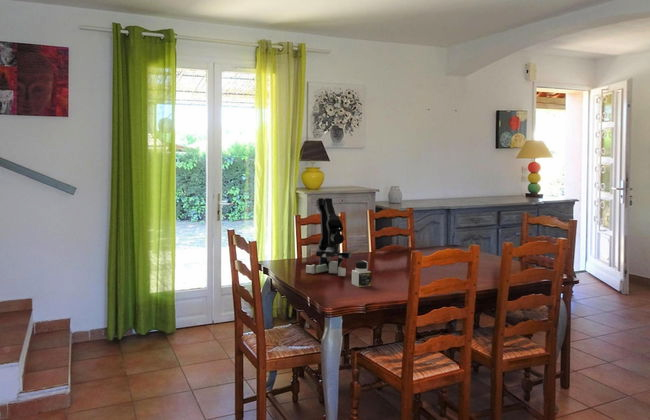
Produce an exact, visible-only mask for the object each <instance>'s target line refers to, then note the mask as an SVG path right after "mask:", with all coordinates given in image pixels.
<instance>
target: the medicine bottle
mask: <svg viewBox="0 0 650 420" xmlns="http://www.w3.org/2000/svg"><path fill="white" fill-rule="evenodd" d="M368 263H369V262H368V261H366V260H357V261H355V266H354V267H355V269H352V270H351V285H353V286H355V287H357V288H361V287H363V288H364V287H370V286H371V285H372V271H370V270H368V268H369V264H368Z"/></svg>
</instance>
